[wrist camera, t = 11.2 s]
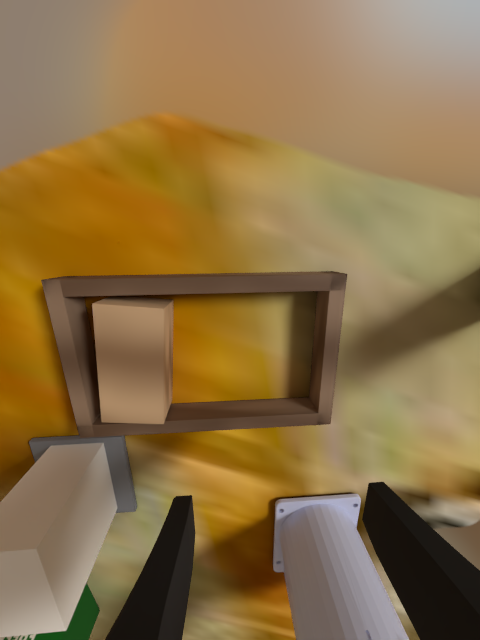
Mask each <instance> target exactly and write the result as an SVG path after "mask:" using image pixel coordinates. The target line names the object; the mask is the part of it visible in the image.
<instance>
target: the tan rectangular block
mask: <svg viewBox="0 0 480 640" xmlns="http://www.w3.org/2000/svg"><path fill="white" fill-rule="evenodd" d="M173 301H174V300H171V299H158V298H145V297H131V296H110V297H108V298H105V299H102V300H100V301H97V302H95V303H92V310H93V322H94V334H95V347H96V359H97V372H98V384H99V397H100V409H101V421H102V422H107V423H140V424H164V422H165V419H166V416H167V413H168V410H169V407H170V405H171V402H172V374H173Z"/></svg>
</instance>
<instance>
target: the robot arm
mask: <svg viewBox="0 0 480 640" xmlns="http://www.w3.org/2000/svg"><path fill="white" fill-rule="evenodd" d="M360 503H361V498H360V497H359V495H358V494H343V495H329V496H315V497H302V498H288V499H279V500H277V501H276V503H275V522H274V548H273V569H274V571H275V572H284V576H285V581H286V587H287V592H288V597H289V603H290V608H291V614H292V619H293V625H294V630H295V636H296V640H409V638H408V636H407V634H406V632H405V630H404V628H403V626H402V624H401V622H400V619H399V617H398V615H397V613H396V611H395V609H394V607H393V605H392V603H391V600H390V598H389V596H388V594H387V592H386V590H385V588H384V586H383V584H382V581H381V579H380V577H379V575H378V573H377V571H376V569H375V567H374V565H373V563H372V560H371V558H370V556H369V554H368V552H367V550H366V548H365V546H364V544H363V541H362V539H361V537H360V535H359V533H358V531H357V529H356V527H357V521H358V515H359V509H360ZM362 520H363V522H364V525H365V527H366V530H367V533H368V535H369V538H370V540H371V542H372V545H373V547H374V549H375V552H376V554H377V556H378V558H379V560H380V562H381V564H382V566H383V568H384V570H385V572H386V574H387V576H388V578H389V580H390V582H391V584H392V586H393V587H394V589H395V591H396V593H397V595H398V597H399V599H400V601H401V603H402V605H403V607H404V609H405V611H406V613H407V615H408V617H409V619H410V620H411V622H412V624H413V626H414V628H415V630H416V632H417V634H418V636H419V638H420V640H480V571H479V570H478V569H477V568H476V567H475V566H474V565H472V564H471V563H470V562H469V561H468V560H467V559H466V558H464V557H463V556H462V555H461V554H460V553H459V552H458V551H457V550H455V549H454V548H453V547H452V546H451V545H450V544H449V543H448V542H447V541H445V540H444V539H443V538H442V537H441V536H440V535H439V534H438V533H437V532H436V531H435V530H433V529H432V528H431V527H430V526H429V525H428V524H427V523H426V522H425V521H424V520H423V519H422V518H421V517H420V516H419V515H417V514H416V513H415V512H414V511H413V510H412V509H411V508H410V507H409V506H408V505H407V504H406V503H405V502H404V501H403V500H402V499H401V498H400V497H399V496H397V495H396V494H395V493H394V492H393V491H392V490H391V489H390V488H389V487H388V486H387V485H386V484H385V483H384V482H376V483H369V485H368V491H367V496H366V502H365V507H364V513H363V518H362ZM194 543H195V525H194V514H193V503H192V495H190V496H176V497H175V498H174V499H173V502H172V505H171V507H170V510H169V513H168V515H167V518H166V520H165V522H164V525H163V527H162V529H161V532H160V534H159V536H158V538H157V541H156V543H155V545H154V547H153V549H152V551H151V553H150V555H149V558H148V560H147V562H146V564H145V566H144V568H143V570H142V572H141V574H140V576H139V578H138V580H137V582H136V584H135V586H134V588H133V589H132V591H131V593H130V595H129V597H128V599H127V601H126V603H125V605H124V607H123V609H122V610H121V612H120V614H119V616H118V618H117V619H116V621H115V623H114V625H113V627H112V628H111V630H110V632H109V634H108V635H107V637H106V639H105V640H182V635H183V629H184V622H185V615H186V609H187V602H188V596H189V589H190V582H191V575H192V568H193V556H194Z"/></svg>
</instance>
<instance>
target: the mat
mask: <svg viewBox="0 0 480 640" xmlns="http://www.w3.org/2000/svg"><path fill="white" fill-rule="evenodd" d="M88 443H104V447H105V452H106V457H107V461H108V466H109V471H110V475H111V480H112V485H113V489H114V494H115V499H116V503H117V510H116V513H120V512H134V511H136V509H137V503H136V498H135V492H134V487H133V481H132V475H131V470H130V464H129V459H128V453H127V448H126V442H125V437H124V435H123V436H105V437H87V438H80V436H61V437H43V438H32V439H31V440H30V441H29V444H30V447H31V450H32V454H33V457H34V460H35V463H36V462H37V460H38V459H39V458H40V457H41V456H42V455H43V454H44V453H45V452H46V450H47V449H48V448H49V447H50V446H53V445H70V444H88Z"/></svg>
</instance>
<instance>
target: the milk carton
mask: <svg viewBox="0 0 480 640" xmlns="http://www.w3.org/2000/svg"><path fill="white" fill-rule="evenodd" d="M99 611H100V610H99V608H98V606H97V604H96V602H95V599H94V597H93V595H92V593H91V591H90V589H89V587H88V585H87V583H86V585H85V587H84V590H83V592H82V594H81V597H80V599H79V602H78V604H77V606H76V609H75V611H74V613H73V616H72V618H71V621H70V623H69V625H68V628H67V630H66V631H60V632H50V633H40V634H30V635H20V636H10V637H0V640H89V637H90V634H91V632H92V629H93V627H94V624H95V621H96V619H97V616H98V613H99Z"/></svg>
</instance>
